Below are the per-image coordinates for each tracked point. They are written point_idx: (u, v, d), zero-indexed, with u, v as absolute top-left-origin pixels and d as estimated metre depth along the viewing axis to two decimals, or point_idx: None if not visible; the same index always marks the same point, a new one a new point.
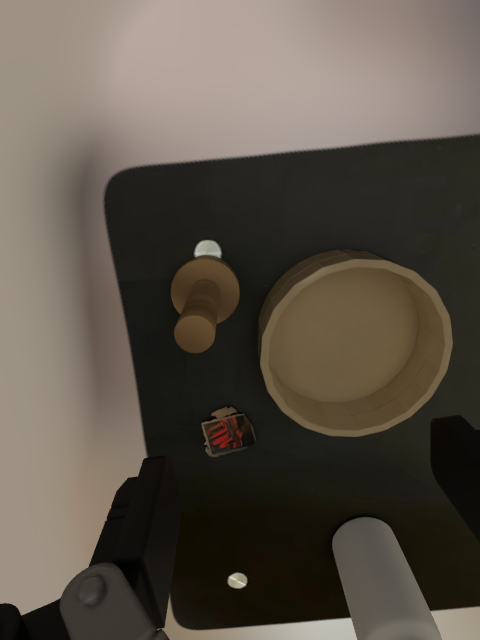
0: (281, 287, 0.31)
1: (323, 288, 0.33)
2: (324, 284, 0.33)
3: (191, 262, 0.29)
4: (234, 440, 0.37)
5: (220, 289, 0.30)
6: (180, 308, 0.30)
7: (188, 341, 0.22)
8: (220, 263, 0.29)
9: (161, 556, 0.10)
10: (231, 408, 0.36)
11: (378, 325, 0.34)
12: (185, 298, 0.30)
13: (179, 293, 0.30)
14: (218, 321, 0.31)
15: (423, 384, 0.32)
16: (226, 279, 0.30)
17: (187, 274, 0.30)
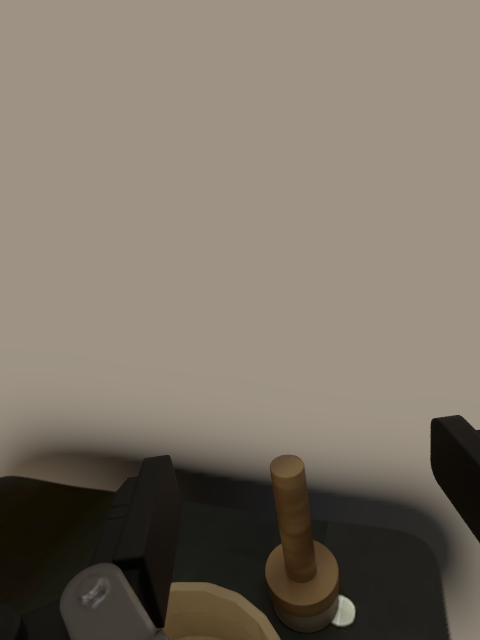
0: None
1: None
2: None
3: (336, 565, 0.28)
4: None
5: (301, 584, 0.27)
6: None
7: (282, 460, 0.26)
8: (329, 592, 0.27)
9: (161, 556, 0.10)
10: None
11: None
12: None
13: None
14: (267, 572, 0.29)
15: None
16: (310, 593, 0.27)
17: (324, 557, 0.29)
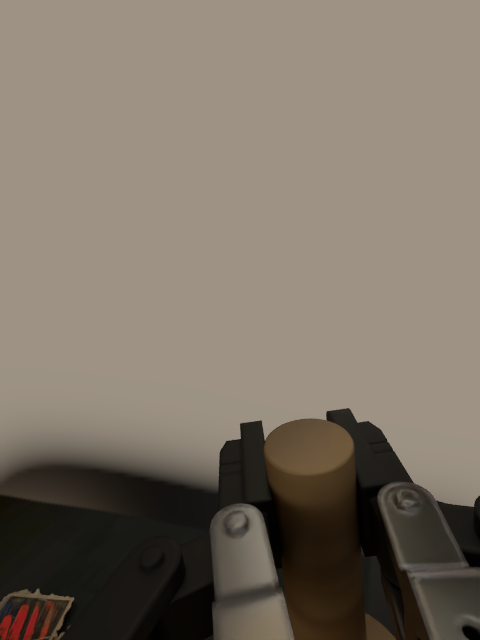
0: None
1: None
2: None
3: None
4: None
5: None
6: None
7: (295, 431, 0.10)
8: None
9: None
10: None
11: None
12: None
13: None
14: None
15: None
16: None
17: None
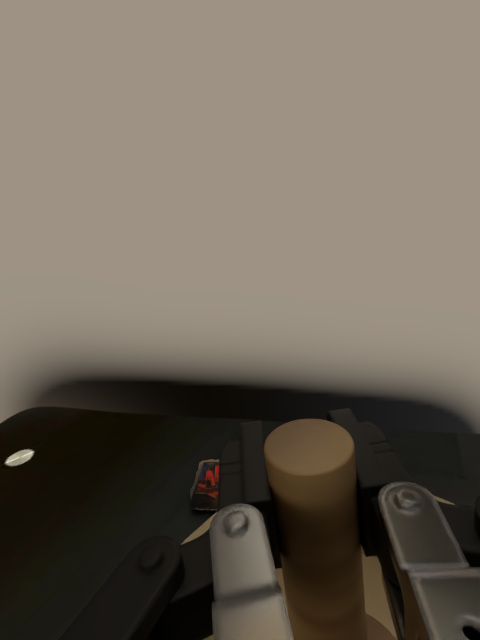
0: None
1: None
2: None
3: None
4: (208, 486, 0.26)
5: None
6: None
7: (295, 432, 0.10)
8: None
9: None
10: None
11: None
12: None
13: None
14: None
15: None
16: None
17: None
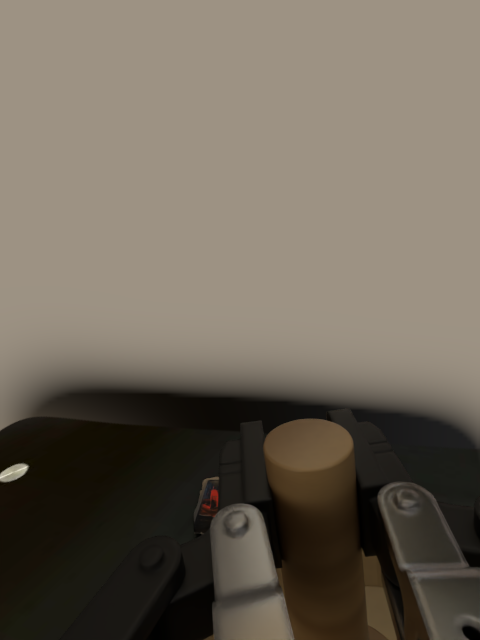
0: None
1: None
2: None
3: None
4: (213, 507, 0.25)
5: None
6: None
7: (294, 430, 0.10)
8: None
9: None
10: None
11: None
12: None
13: None
14: None
15: None
16: None
17: None
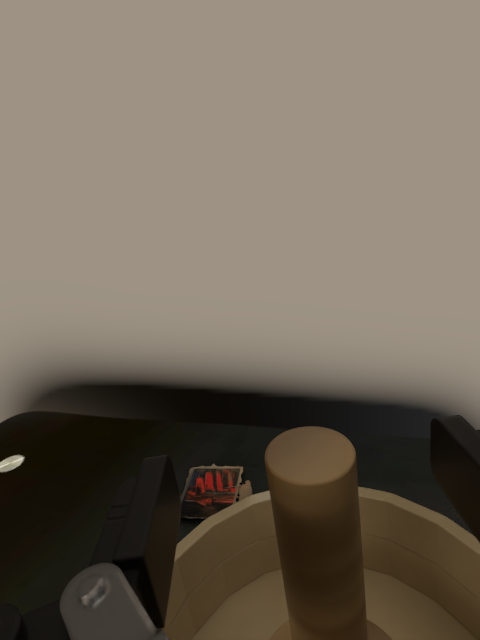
0: None
1: None
2: None
3: None
4: (198, 493, 0.26)
5: None
6: None
7: (296, 440, 0.10)
8: None
9: (161, 556, 0.10)
10: None
11: None
12: None
13: None
14: None
15: None
16: None
17: None
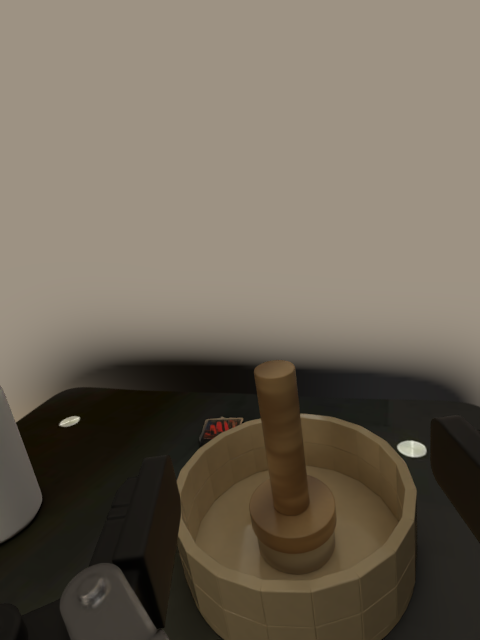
0: None
1: (363, 525, 0.25)
2: (368, 527, 0.25)
3: (332, 497, 0.24)
4: (211, 434, 0.38)
5: (291, 517, 0.23)
6: None
7: (268, 365, 0.22)
8: (324, 524, 0.22)
9: (161, 556, 0.10)
10: None
11: None
12: None
13: None
14: (251, 506, 0.24)
15: None
16: (301, 526, 0.22)
17: (319, 490, 0.25)
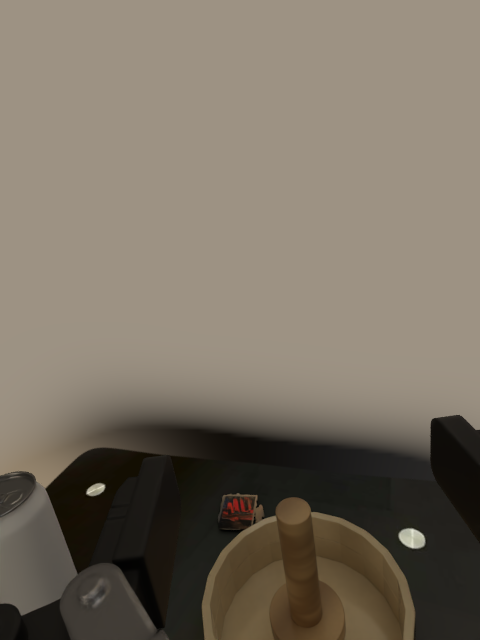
0: None
1: (368, 627, 0.29)
2: (373, 630, 0.29)
3: (342, 608, 0.28)
4: (229, 513, 0.41)
5: (306, 629, 0.27)
6: None
7: (288, 504, 0.26)
8: (336, 639, 0.26)
9: (161, 556, 0.10)
10: (260, 520, 0.40)
11: None
12: None
13: None
14: (271, 615, 0.28)
15: None
16: None
17: (330, 600, 0.28)
